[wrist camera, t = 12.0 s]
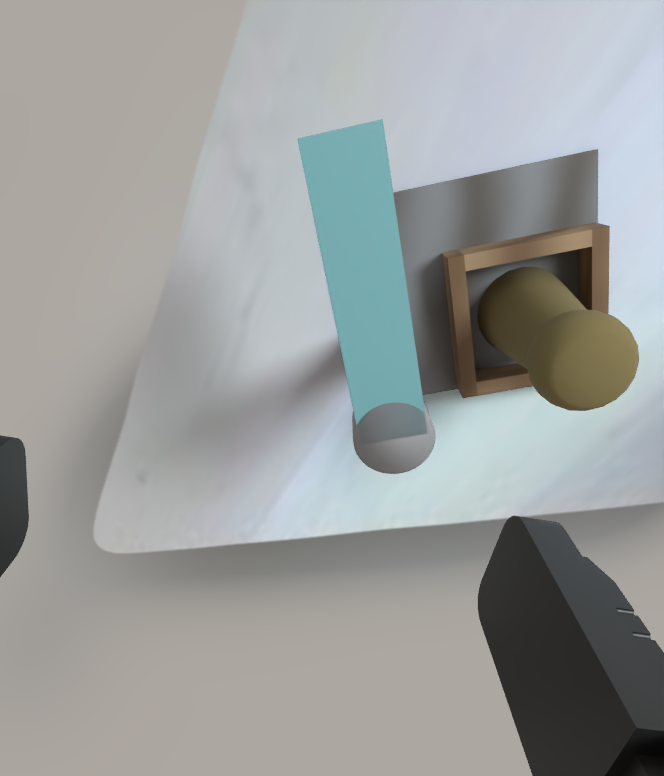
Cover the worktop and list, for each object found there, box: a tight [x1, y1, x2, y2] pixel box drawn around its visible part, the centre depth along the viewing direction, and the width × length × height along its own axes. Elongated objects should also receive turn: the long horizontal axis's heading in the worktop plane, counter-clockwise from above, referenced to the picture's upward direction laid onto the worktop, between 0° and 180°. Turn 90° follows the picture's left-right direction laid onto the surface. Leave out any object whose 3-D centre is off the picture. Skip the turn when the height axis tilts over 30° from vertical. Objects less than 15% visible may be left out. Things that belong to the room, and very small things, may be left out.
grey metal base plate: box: [393, 150, 609, 398], centre depth 34 cm, size 17×14×2 cm
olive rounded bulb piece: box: [477, 267, 639, 411], centre depth 30 cm, size 6×6×11 cm
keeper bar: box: [298, 119, 435, 474], centre depth 22 cm, size 14×4×2 cm, turn 11°
